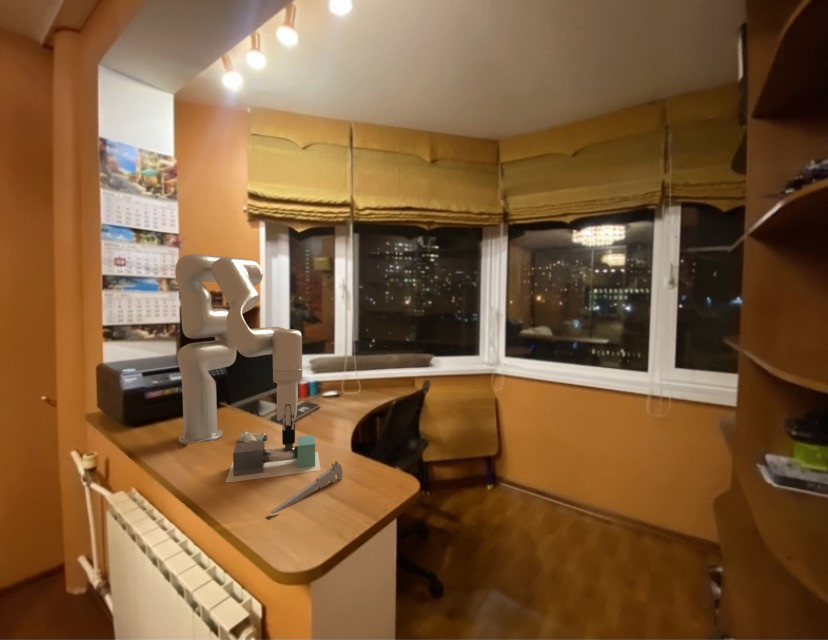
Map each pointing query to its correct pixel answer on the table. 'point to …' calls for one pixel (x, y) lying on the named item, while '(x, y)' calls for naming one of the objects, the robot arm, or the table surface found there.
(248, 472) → the dark grey block
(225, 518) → the table surface
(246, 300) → the robot arm
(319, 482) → the caliper
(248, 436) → the pipe fitting
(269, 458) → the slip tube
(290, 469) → the base board
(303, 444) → the socket block
